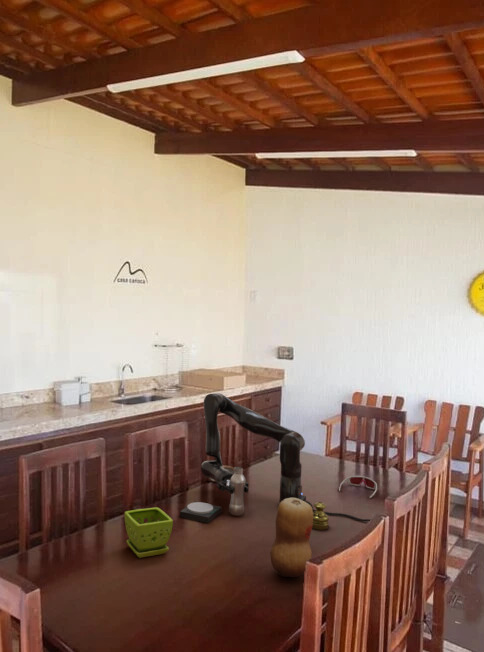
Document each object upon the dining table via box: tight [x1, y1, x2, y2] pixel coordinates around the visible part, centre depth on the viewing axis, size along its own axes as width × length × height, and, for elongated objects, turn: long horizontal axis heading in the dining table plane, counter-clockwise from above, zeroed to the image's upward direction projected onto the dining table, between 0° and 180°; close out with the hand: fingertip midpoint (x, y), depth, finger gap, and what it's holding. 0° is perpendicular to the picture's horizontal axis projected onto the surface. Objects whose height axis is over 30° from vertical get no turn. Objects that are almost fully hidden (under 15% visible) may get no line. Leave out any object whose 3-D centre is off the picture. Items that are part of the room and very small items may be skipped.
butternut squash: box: [269, 498, 314, 578], centre depth 178 cm, size 14×13×25 cm
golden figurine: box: [312, 501, 330, 531], centre depth 220 cm, size 7×7×10 cm
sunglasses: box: [338, 475, 378, 499], centre depth 268 cm, size 17×17×5 cm
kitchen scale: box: [179, 500, 223, 524], centre depth 228 cm, size 13×14×3 cm
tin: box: [207, 464, 235, 483], centre depth 272 cm, size 15×3×8 cm, turn 84°
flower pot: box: [124, 506, 174, 559], centre depth 192 cm, size 14×14×13 cm
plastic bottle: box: [228, 466, 247, 517], centre depth 229 cm, size 6×7×20 cm
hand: (239, 490), depth 227 cm, fingers closed on plastic bottle, 6 cm apart
